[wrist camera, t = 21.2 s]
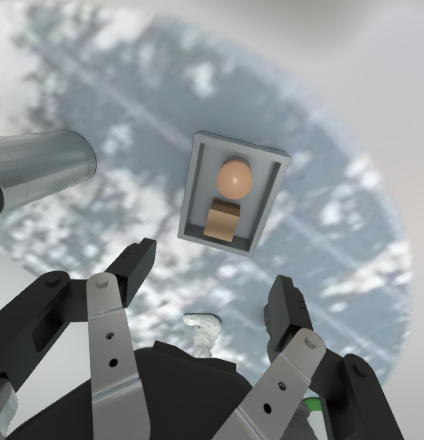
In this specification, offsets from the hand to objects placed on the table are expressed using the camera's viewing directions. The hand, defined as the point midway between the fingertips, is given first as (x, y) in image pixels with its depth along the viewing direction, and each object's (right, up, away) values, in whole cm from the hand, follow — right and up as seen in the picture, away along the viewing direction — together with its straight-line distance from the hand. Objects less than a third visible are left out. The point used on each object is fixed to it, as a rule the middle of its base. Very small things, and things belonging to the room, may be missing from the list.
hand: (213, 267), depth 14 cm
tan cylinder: (+4, +11, +22) cm, 25 cm away
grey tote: (+3, +8, +25) cm, 26 cm away
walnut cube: (+2, +4, +26) cm, 27 cm away
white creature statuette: (-1, -23, +41) cm, 47 cm away
